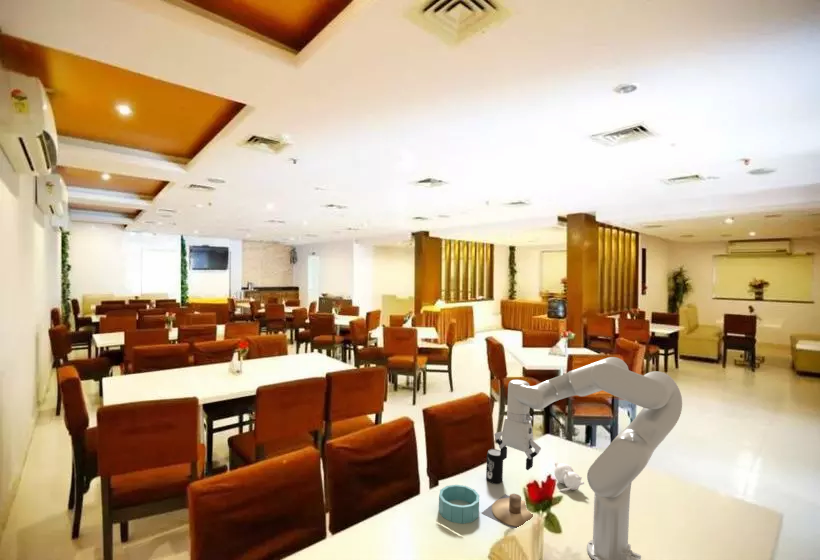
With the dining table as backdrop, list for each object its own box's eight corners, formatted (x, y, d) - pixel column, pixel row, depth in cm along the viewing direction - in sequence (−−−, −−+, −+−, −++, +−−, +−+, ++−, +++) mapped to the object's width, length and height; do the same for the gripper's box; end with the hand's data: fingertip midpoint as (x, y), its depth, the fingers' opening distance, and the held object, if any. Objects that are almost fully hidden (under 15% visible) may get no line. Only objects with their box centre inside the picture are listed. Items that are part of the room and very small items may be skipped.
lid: (546, 512, 142) (546, 496, 142) (525, 533, 131) (526, 516, 130) (505, 495, 153) (506, 480, 153) (483, 513, 141) (483, 496, 141)
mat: (547, 514, 142) (547, 512, 142) (526, 536, 130) (526, 535, 130) (505, 495, 154) (505, 494, 154) (481, 514, 141) (481, 513, 141)
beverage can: (502, 486, 160) (503, 456, 160) (486, 484, 162) (486, 454, 162) (502, 478, 167) (503, 449, 167) (486, 476, 168) (487, 447, 168)
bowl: (486, 511, 143) (486, 495, 143) (463, 530, 132) (464, 512, 132) (454, 496, 152) (454, 480, 152) (431, 512, 142) (431, 495, 142)
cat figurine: (580, 470, 156) (561, 455, 168) (559, 486, 154) (541, 470, 166) (589, 486, 158) (569, 471, 169) (569, 503, 156) (550, 486, 167)
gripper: (546, 420, 138) (543, 468, 139) (501, 407, 150) (499, 452, 150) (536, 425, 133) (534, 476, 133) (490, 412, 144) (489, 458, 145)
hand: (515, 463), depth 142 cm, fingers open, 9 cm apart
